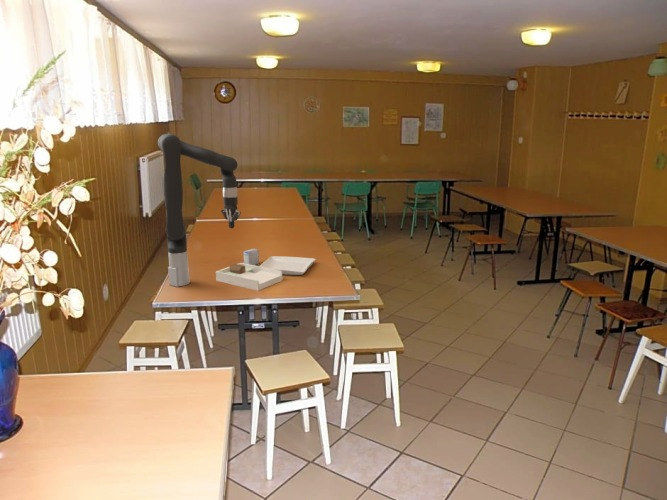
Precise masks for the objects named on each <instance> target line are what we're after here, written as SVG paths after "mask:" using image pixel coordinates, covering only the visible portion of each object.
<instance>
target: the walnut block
mask: <svg viewBox="0 0 667 500" xmlns="http://www.w3.org/2000/svg"><path fill="white" fill-rule="evenodd" d="M229 267H230V272H231V273H236V274H242V273H245V272H246V270H245V266H244V265H239V263H234V264H231V265H229Z"/></svg>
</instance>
